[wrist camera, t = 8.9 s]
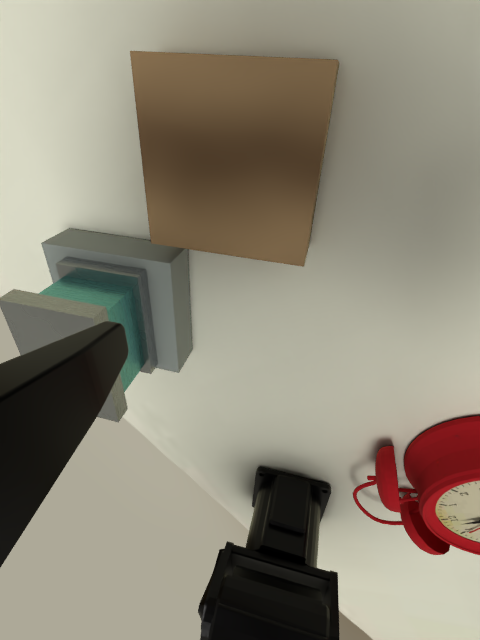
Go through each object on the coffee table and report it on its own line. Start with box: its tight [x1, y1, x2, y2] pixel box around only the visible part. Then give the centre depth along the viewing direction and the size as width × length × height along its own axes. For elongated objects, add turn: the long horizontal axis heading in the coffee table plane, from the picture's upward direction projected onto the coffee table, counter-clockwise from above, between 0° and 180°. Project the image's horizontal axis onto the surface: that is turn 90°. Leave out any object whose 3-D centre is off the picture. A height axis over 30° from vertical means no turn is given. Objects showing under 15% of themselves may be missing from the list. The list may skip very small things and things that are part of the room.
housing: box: [0, 256, 158, 422], centre depth 20 cm, size 5×7×5 cm
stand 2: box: [130, 51, 339, 266], centre depth 16 cm, size 8×8×2 cm
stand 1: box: [41, 228, 192, 373], centre depth 23 cm, size 8×8×2 cm
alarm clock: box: [353, 416, 480, 555], centre depth 23 cm, size 10×6×15 cm
